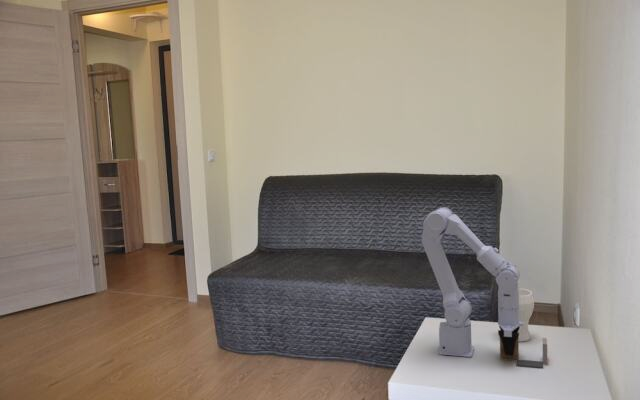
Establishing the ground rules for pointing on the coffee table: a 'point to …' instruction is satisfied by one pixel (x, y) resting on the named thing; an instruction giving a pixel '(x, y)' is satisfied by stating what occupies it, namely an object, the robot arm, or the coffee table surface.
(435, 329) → the coffee table surface
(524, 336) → the cream vase
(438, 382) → the coffee table surface
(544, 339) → the tile
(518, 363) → the pad
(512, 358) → the brown wooden block
